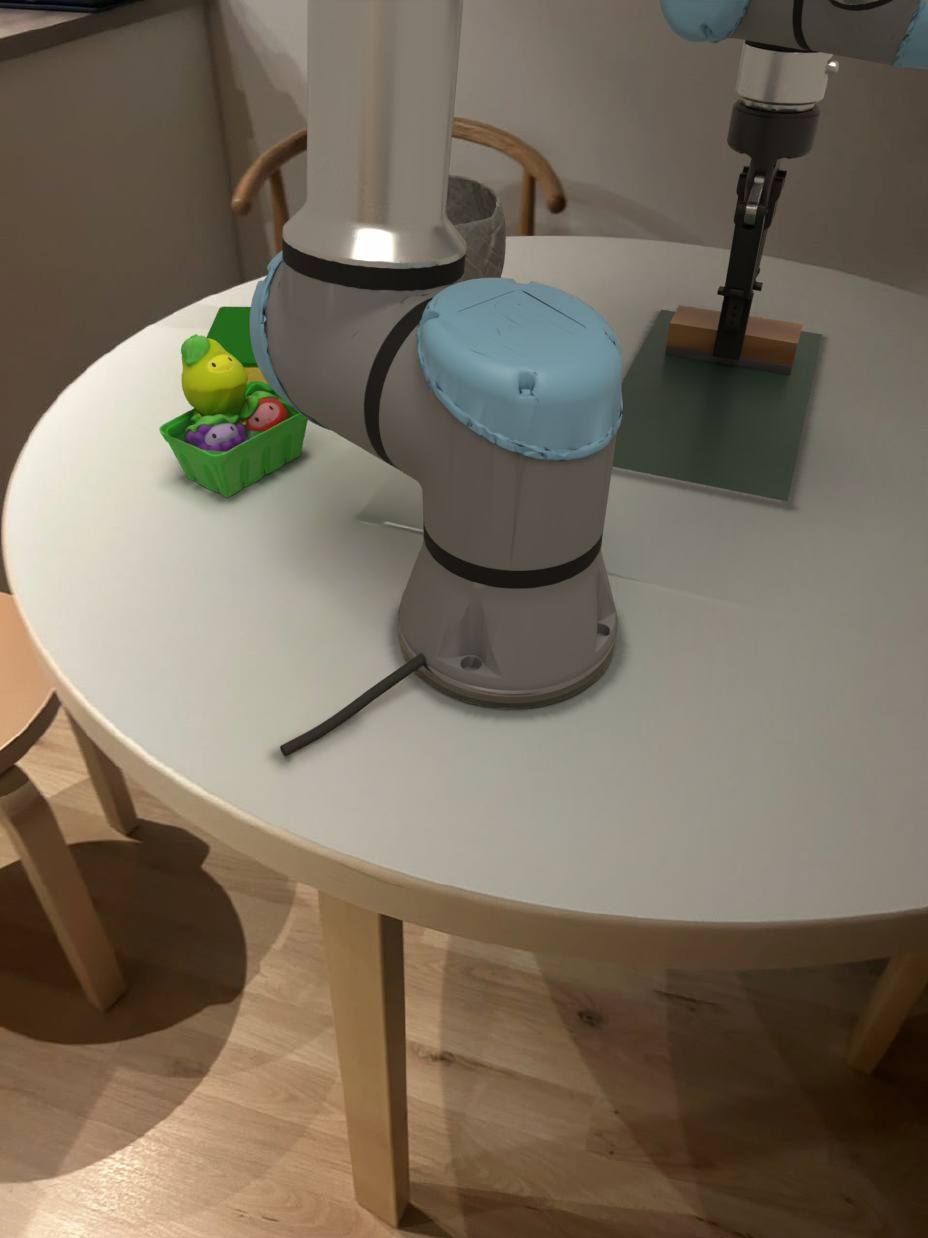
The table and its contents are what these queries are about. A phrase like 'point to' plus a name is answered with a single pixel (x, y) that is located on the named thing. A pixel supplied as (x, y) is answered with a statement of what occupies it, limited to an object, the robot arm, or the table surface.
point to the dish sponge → (236, 338)
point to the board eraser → (762, 346)
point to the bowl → (478, 225)
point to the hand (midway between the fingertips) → (726, 354)
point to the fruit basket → (230, 422)
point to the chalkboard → (714, 418)
